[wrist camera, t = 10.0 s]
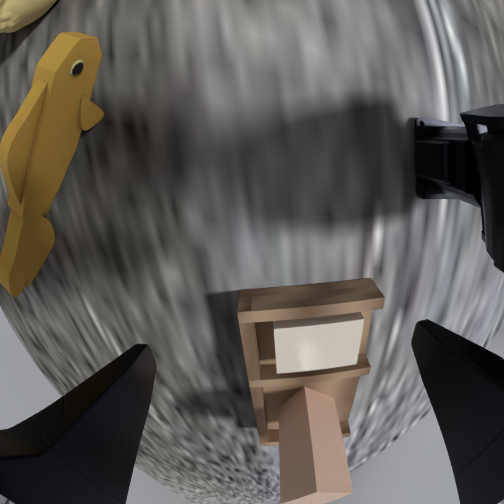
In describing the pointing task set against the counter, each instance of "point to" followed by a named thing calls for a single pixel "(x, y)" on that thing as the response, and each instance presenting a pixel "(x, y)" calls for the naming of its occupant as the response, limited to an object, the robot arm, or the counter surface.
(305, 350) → the clay tile
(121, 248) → the counter surface
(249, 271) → the counter surface
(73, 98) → the decorative fish
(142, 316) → the counter surface
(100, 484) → the robot arm
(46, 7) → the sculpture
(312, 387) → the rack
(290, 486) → the clay bar
